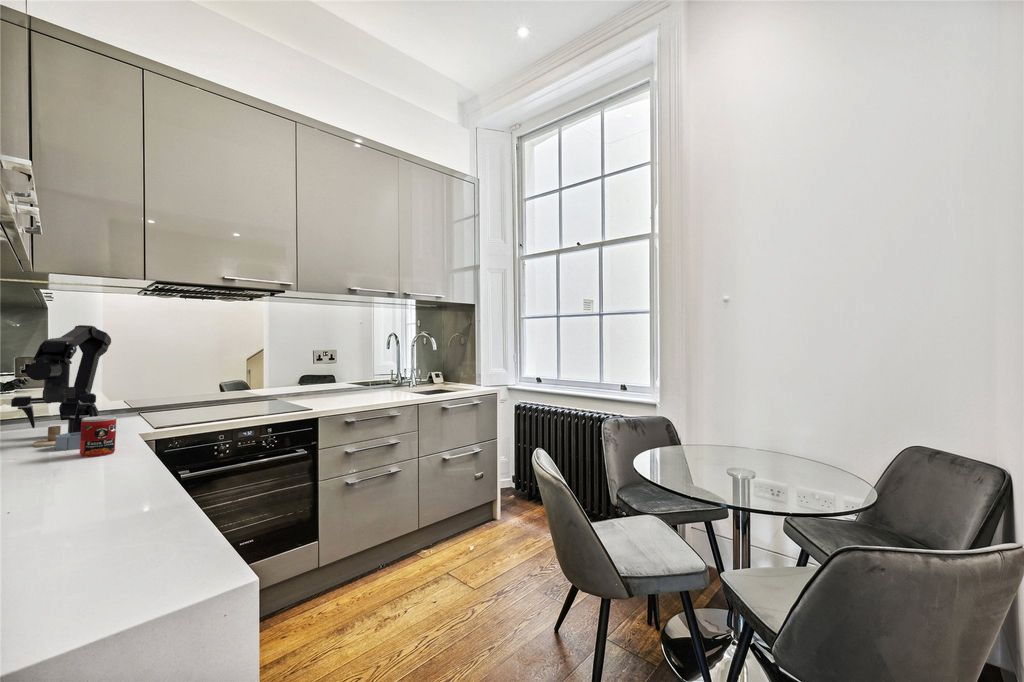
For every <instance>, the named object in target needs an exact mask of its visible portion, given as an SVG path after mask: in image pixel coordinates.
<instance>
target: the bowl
mask: <svg viewBox="0 0 1024 682" xmlns="http://www.w3.org/2000/svg"><path fill="white" fill-rule="evenodd" d="M80 439H81V432H76V433H68V432H67V433H62V434H61V433H60V435H56V439H55V446H54V450H55V451H73V450H80Z"/></svg>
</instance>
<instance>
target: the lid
mask: <svg viewBox="0 0 1024 682" xmlns="http://www.w3.org/2000/svg"><path fill="white" fill-rule="evenodd" d="M61 427H62V426H61V425H51V426H47V438H46V439H40V440H36V441H34V442H33V446H34V447H35V446H51V447H55V439H56V435H61V429H62V428H61Z"/></svg>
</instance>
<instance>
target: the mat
mask: <svg viewBox="0 0 1024 682" xmlns="http://www.w3.org/2000/svg"><path fill="white" fill-rule="evenodd" d="M48 447H49V448H50V447H52V446H34V449H39V448H48Z"/></svg>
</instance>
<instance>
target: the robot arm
mask: <svg viewBox="0 0 1024 682" xmlns="http://www.w3.org/2000/svg"><path fill="white" fill-rule="evenodd" d="M111 344H112V338H111V336H110V335H109V334H108V333H107V332H106V331H103V330H100V329H98V328H97V327H96V326H93V325H84V324H83V325H80V324H79V325H76V326H74V328H73V329H72V330H70V331H68V332H67V333H65V334H64V335H62V336H60V337H54V338H53V337H52V338H49V339H45V340H44V341H42V343H41V344H39V347H38V349H37V351H36V353H35V355H34V357H33V359H32V360H33V362H32V363H30V364H29V365H28V366H27V368H26V369H25V375H26V376H27V377H28V378H29V379H31V380H33V381H43V390H42V397H32V395H25V396H24V395H21V396H20V395H19V396H17V395H16V396H14V397H12V399H11V401H10V403H11V404H10V407H11V408H17V410H22V411H23V412H24V414H25V415H26V417H27V419H28V421H29V423H30V426H31V428H32V429H35V427H36V426H35V425H36V420H35V413H34V407H33V405H32V404H37V405H38V404H54V403H58V404H59V403H60V405H59V407H58V412H59V418H60V421H68V422H67V433H76V432H81V421H82V419H83V418H87V417H95V416H100V415H99V410H98V408H97V405H96V404H95V403H96V402H97V395H96V394H95V393H94V392H93V393H92V388H93V386H94V381H95V377H96V372H97V368H98V365H99V360H100V358H101V356H103V355H104V354H105V353H107V352H108V349H109V347H110V345H111ZM78 347H79V350H80V351H81V353H82V354H81V358H80V361H79V366H78V370H77V372H76V377H75V380H74V383H73V386H70V376H71V375H70V374H71V372H70V371H71V370H70V367H71V365H72V363H73V362H72V361H71V359H72V358H73V357H74V355H75V354H76V352H77V350H78V349H77V348H78Z"/></svg>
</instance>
